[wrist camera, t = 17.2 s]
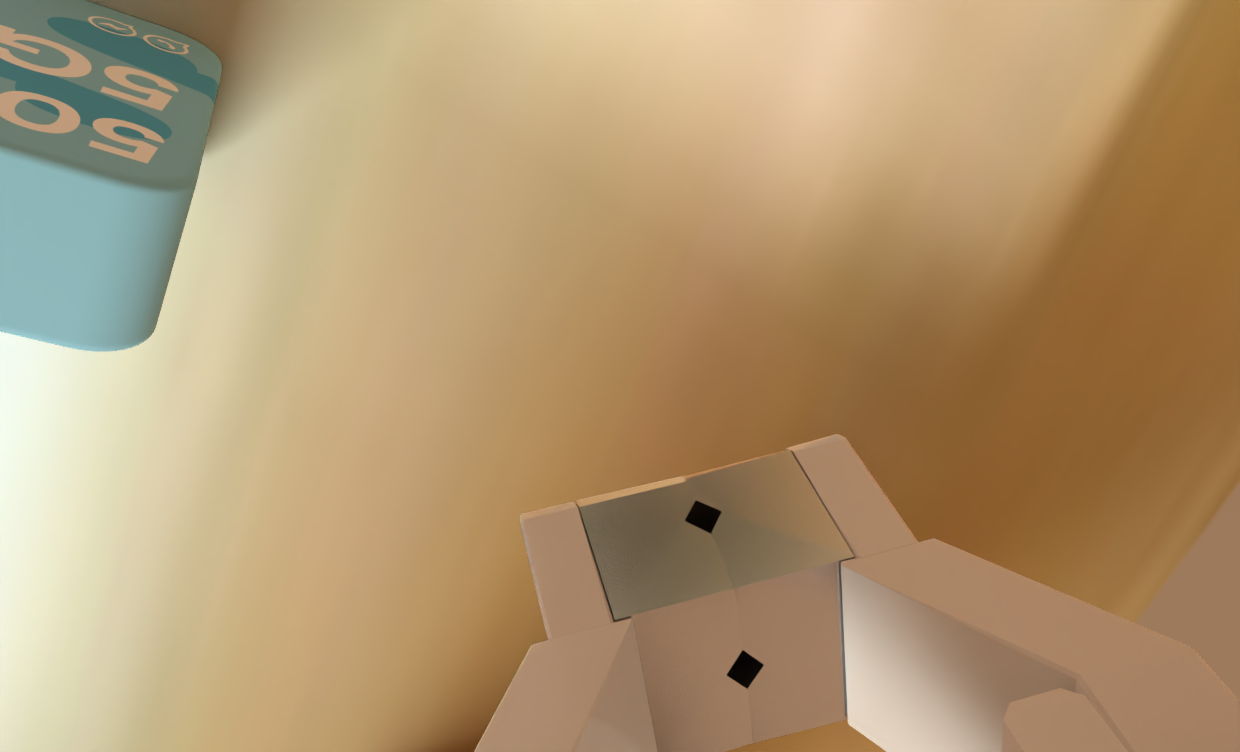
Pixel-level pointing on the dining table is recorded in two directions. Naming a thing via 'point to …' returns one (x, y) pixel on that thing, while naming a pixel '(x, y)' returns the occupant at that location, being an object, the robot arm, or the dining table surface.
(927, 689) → the robot arm
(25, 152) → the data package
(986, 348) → the dining table surface
